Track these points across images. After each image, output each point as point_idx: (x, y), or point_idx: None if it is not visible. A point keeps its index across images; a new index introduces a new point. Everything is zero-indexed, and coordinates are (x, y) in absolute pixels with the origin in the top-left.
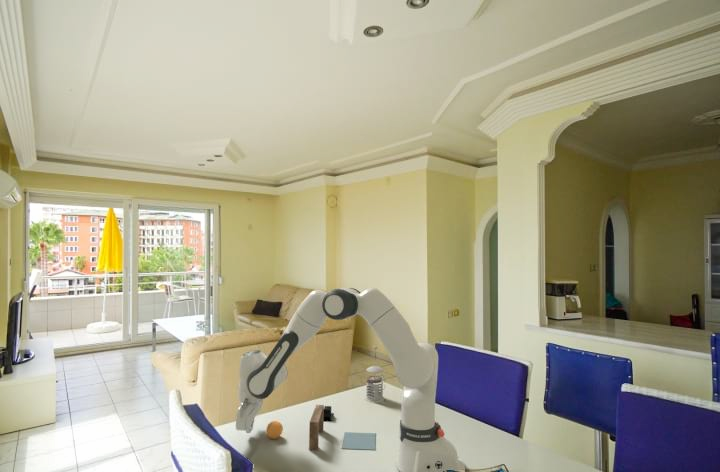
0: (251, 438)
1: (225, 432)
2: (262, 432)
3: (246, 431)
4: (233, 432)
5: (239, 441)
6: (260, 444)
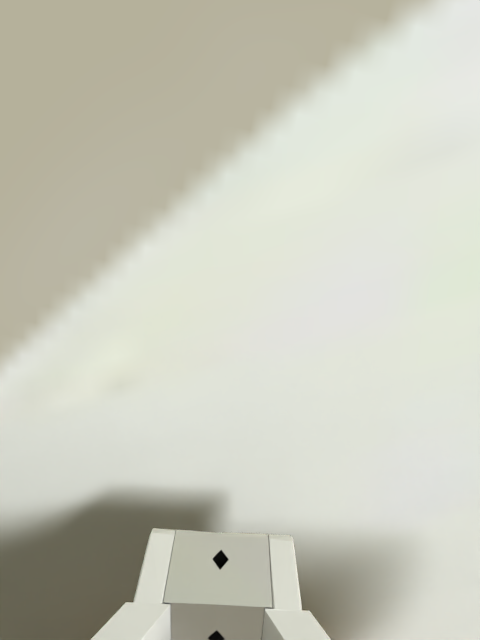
0: (181, 515)
1: (402, 26)
2: (346, 593)
3: (148, 549)
4: (384, 206)
5: (77, 394)
6: (51, 623)
